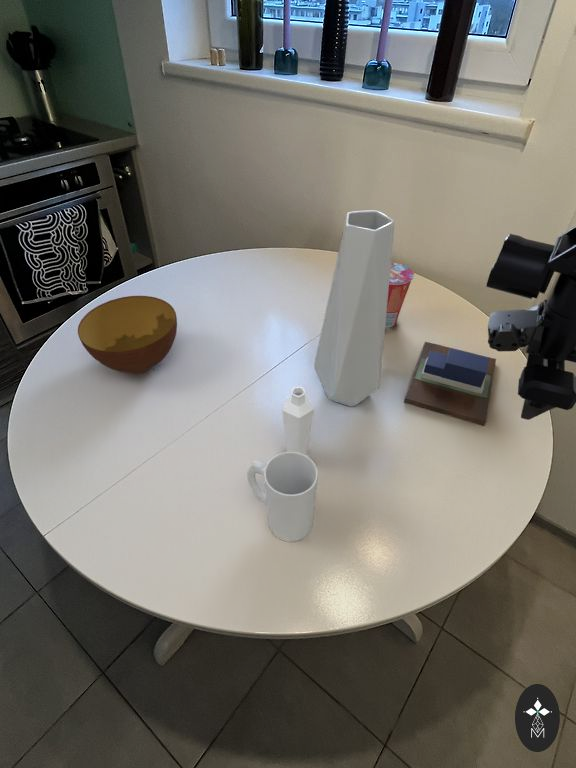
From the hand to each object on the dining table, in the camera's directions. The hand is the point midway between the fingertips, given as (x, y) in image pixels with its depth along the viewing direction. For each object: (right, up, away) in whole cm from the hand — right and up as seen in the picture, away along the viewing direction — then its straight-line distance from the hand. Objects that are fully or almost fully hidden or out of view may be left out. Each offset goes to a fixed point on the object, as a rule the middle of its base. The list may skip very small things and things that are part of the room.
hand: (526, 396), depth 66 cm
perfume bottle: (-34, -10, +7) cm, 36 cm away
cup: (-14, +16, +34) cm, 40 cm away
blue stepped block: (-4, +3, +19) cm, 20 cm away
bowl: (-65, +6, +24) cm, 69 cm away
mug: (-36, -18, -1) cm, 40 cm away
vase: (-24, 0, +18) cm, 30 cm away
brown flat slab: (-4, +2, +20) cm, 20 cm away
